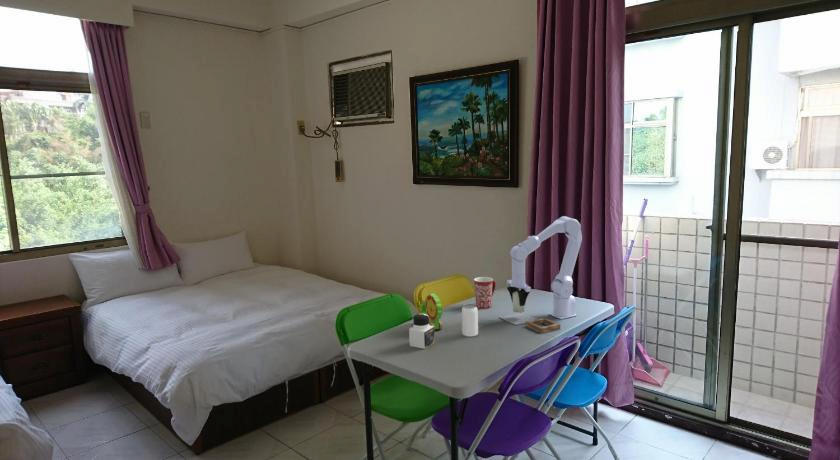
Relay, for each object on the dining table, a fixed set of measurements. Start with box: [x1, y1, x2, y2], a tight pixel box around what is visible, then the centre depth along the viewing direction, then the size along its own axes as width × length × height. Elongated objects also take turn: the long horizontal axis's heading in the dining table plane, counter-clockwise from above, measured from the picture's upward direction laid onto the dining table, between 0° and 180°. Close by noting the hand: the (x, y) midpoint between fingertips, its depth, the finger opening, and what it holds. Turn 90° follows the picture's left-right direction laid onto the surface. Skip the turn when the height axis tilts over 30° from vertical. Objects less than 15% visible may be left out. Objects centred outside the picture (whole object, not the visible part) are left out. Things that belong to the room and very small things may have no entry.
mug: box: [473, 276, 496, 310], centre depth 248 cm, size 13×9×14 cm
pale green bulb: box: [512, 292, 525, 313], centre depth 227 cm, size 5×5×8 cm
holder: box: [525, 317, 561, 334], centre depth 217 cm, size 10×10×2 cm
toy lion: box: [420, 293, 444, 331], centre depth 220 cm, size 16×6×15 cm, turn 27°
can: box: [461, 303, 479, 338], centre depth 211 cm, size 6×6×12 cm
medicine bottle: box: [408, 313, 435, 350], centre depth 201 cm, size 7×7×12 cm
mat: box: [498, 312, 537, 326], centre depth 228 cm, size 12×12×1 cm
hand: (518, 304), depth 227 cm, fingers closed on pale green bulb, 5 cm apart
